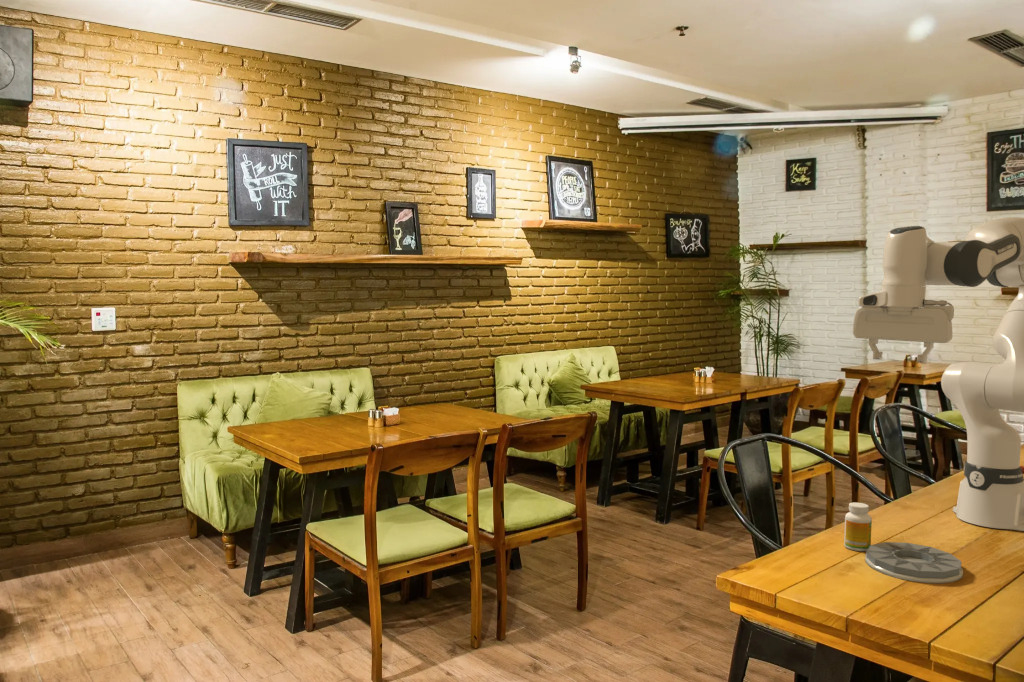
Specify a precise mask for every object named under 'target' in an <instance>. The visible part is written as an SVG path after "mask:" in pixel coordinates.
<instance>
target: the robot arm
mask: <svg viewBox="0 0 1024 682" xmlns="http://www.w3.org/2000/svg"><path fill="white" fill-rule="evenodd" d="M882 270H883V280H882V282H881V291H878V292H874V293H869V294H866V295H863V296H860V297H858V300H857V302H858V305H859V306H860V307H858V308H857V309H856V311H855V312H854V317H853V323H852V335H853V336H854V338H856V339H868V346H869V348H870V349H871V351H872V354H873V355H872V358H873V359H872V360H877V361H878V360H879V361H880V360H882V359H883V351H881V350H880V351H879V348H878V346H877V344H879V341H881V340H882V341H883V340H884V341H899V342H901V341H902V342H914V343H915V342H918V343H923V348H925V349H924V350H923V352H922V354H921V353H919V354H917V363H919V364H926V363H928V355H929V354H930V352H931V351H932V350H933V349H934V347H935V345H934V344H936V343H937V344H949V343H950V342H951V341H952V340H953V322H952V320H953V318H954V313H955V309H954V308H955V307H954V305H952V304H951V303H950V302H948V301H947V300H942V299H941V300H933V299H926V293H927V289H926V288H927V286H958V287H968V288H974V287H978V286H980V285H982V284H983V283H984V282H985V281H987V282H988V283H989V284H990V285H992V286H994V287H998V288H999V287H1001V288H1008V287H1011V288H1018V293H1017V295H1016V296H1015V298H1014V299H1013V300H1012V302H1011V303H1010V305H1009V306H1008V308H1007V310H1006V311H1005V313H1004V315H1003V317H1002V319H1001V321H1000V322H999V325H998V326H997V329H996V331H995V333H994V335H993V337H992V346H993V349H994V350H995V351H996V353H997V355H999V356H1001V357H1002V358H1004V361H1003V362H1002V363H995V362H993V363H992V362H983V361H974V360H973V361H959V362H953V363H951V364H949V365H948V366H947V367H946V368H945V370H944V371H943V373H942V375H941V379H940V385H941V390H942V392H943V393H944V396H946V398H947V399H949V400H950V401H951V402H952V403H953V404H954V405H955V406H956V408H957V409H958V411H959V414H960V415H961V417H962V419H963V421H964V424H965V428H966V437H967V438H966V440H967V442H966V443H967V445H966V447H967V448H966V449H967V452H966V453H967V454H966V460H965V462H964V466H963V475H964V476H965V477H964V478H963V479H962V480H960V483H959V487H958V488H959V489H958V496H957V503H956V505H955V506H953V507H952V512H954V513H955V515H956V518H958V519H960V520H961V521H963V522H966V523H968V524H973V525H975V526H976V525H977V526H981V527H986V528H992V529H1001V530H1013V531H1020V532H1024V465H1020V463H1021V449H1022V448H1021V446H1022V445H1021V444H1022V439H1021V435H1020V434H1019V432H1018V431H1017V430H1016V429H1015V428H1014V427H1013V426H1011V425H1010V424H1008V423H1007V422H1006V421H1005V420H1004V419H1003V417H1002V415H1001V413H1000V410H1002V411H1003V410H1004V411H1010V412H1019V413H1024V217H1022V216H1021V217H1018V216H1013V217H1011V216H1010V217H1001V218H996V219H992V220H989V221H985V222H983V223H980V224H979V225H976V226H975V227H974V228H972V229H971V230H970V231H969V232H968V233H967V235H966V237H965V240H964V241H962V240H961V241H945V242H935V241H934V240H932V239H931V238H929V237H928V235H927V229H926V227H924V226H920V225H913V226H912V225H911V226H909V225H908V226H901V227H897V228H892V229H891V230H890V231H889V232H888V233H887V235H886V238H885V242H884V248H883V257H882Z"/></svg>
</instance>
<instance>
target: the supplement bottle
mask: <svg viewBox="0 0 1024 682" xmlns="http://www.w3.org/2000/svg"><path fill="white" fill-rule="evenodd" d="M869 507H870V506H869V505H868V504H866V503H862V502H854V501H853V502H850V503H849V504H848V511H849V512H847V513H846V514H845V516H844V538H843V540H844V541H843V545H844V547H845V548H846V549H848V550H851V551H855V552H867V550H868V548H869V547H870V545H872V520H873V519H872V516H871V515H870V514H868V513H869V512H870V511H869V510H870V508H869Z"/></svg>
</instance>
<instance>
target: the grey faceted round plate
mask: <svg viewBox="0 0 1024 682" xmlns="http://www.w3.org/2000/svg"><path fill="white" fill-rule="evenodd" d="M864 561H865V563H866V564H867V566H869V568H871V569H873V570H875V571H876V572H879V573H881V574H882V575H886V576H889V577H892V578H896V579H900V580H904V581H910V582H913V583H915V582H916V583H923V584H948V583H954V582H957V581H959V580H961V579H962V578H963V577H964V575H963V574H964V570H963V567H962V561H961V560H960V559H959V558H957V557H956V556H954V555H953V554H952V553H950V552H947V551H944V550H943V549H939V548H935V547H932V546H927V545H924V544H923V545H922V544H917V543H910V542H901V541H900V542H897V541H896V542H894V541H884V542H880V543H879V542H878V543H874V544H871V545H870V547H869V548H868V550H867V551H866V553H865V556H864Z"/></svg>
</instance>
